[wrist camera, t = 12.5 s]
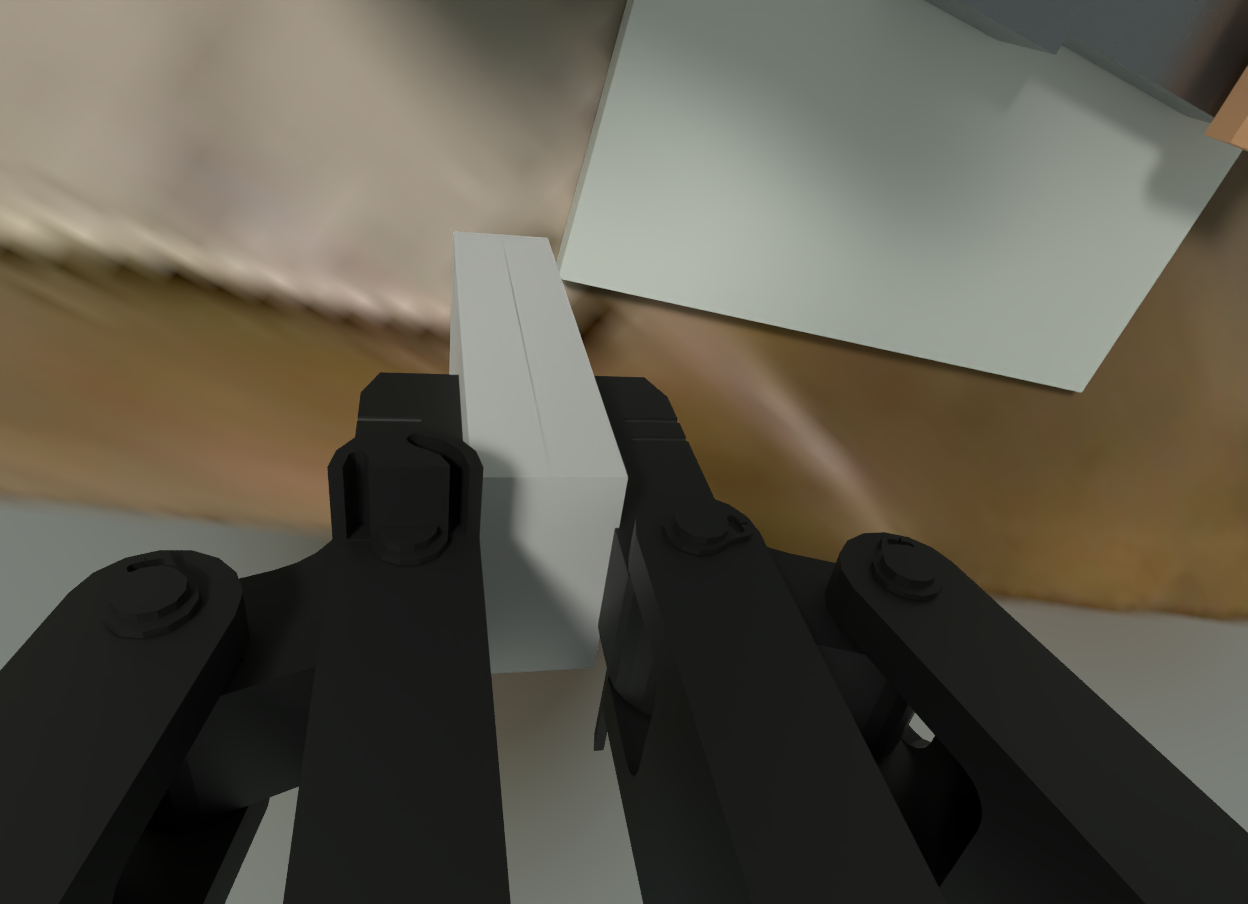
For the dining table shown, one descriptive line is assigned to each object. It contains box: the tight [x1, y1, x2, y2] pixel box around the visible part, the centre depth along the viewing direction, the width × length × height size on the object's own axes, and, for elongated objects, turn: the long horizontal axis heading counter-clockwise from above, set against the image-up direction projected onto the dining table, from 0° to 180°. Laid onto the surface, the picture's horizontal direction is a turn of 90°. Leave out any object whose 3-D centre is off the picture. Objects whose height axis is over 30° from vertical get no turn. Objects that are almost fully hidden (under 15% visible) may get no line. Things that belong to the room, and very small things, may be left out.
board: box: [556, 0, 1242, 393], centre depth 37 cm, size 24×32×1 cm
